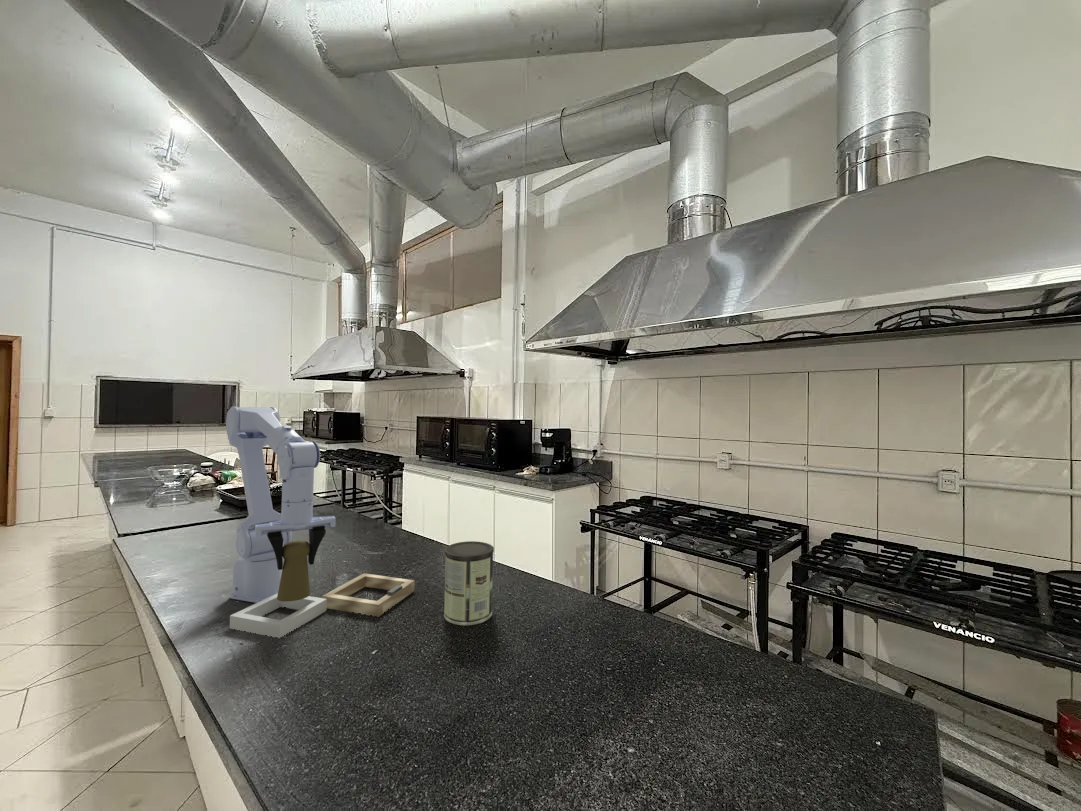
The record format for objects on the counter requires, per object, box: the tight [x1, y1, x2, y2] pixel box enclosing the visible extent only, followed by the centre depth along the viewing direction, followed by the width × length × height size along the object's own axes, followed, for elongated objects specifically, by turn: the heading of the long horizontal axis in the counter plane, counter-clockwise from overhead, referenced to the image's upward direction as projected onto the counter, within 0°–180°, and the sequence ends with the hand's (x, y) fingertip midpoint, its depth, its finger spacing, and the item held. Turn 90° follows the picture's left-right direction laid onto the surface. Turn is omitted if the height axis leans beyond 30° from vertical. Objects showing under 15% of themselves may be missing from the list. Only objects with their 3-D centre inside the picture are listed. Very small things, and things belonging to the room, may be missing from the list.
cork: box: [277, 540, 311, 602], centre depth 92 cm, size 6×6×11 cm
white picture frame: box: [229, 593, 328, 639], centre depth 91 cm, size 12×12×2 cm
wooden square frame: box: [321, 573, 416, 618], centre depth 101 cm, size 14×14×3 cm
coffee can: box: [443, 540, 495, 626], centre depth 95 cm, size 10×10×14 cm
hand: (295, 565), depth 92 cm, fingers closed on cork, 5 cm apart
